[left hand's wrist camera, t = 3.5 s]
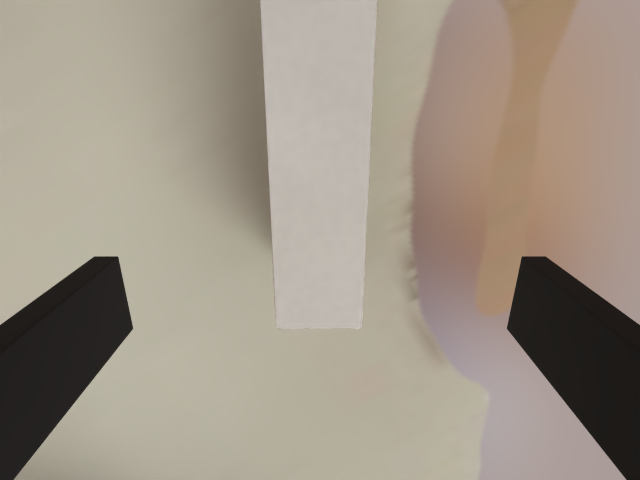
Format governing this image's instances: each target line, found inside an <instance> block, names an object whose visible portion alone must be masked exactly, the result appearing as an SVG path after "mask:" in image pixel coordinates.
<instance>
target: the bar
mask: <svg viewBox="0 0 640 480" xmlns="http://www.w3.org/2000/svg"><path fill="white" fill-rule="evenodd" d="M260 12H261V33H262V53H263V73H264V94H265V114H266V135H267V155H268V176H269V196H270V216H271V237H272V257H273V278H274V298H275V318H276V328H362V317H363V295H364V274H365V252H366V231H367V210H368V188H369V167H370V146H371V124H372V103H373V82H374V60H375V39H376V17H377V0H260Z"/></svg>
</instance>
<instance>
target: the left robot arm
mask: <svg viewBox="0 0 640 480" xmlns="http://www.w3.org/2000/svg"><path fill="white" fill-rule="evenodd" d="M132 329H133V326H132V321H131V316H130V311H129V307H128V302H127V297H126V292H125V288H124V283H123V278H122V273H121V268H120V264H119V259H118V257H93V258H92V259H90V260H89V261H88V262H86V263H85V264H84V265H82V266H81V267H79V268H78V269H77V270H75V271H74V272H73V273H71V274H70V275H68V276H67V277H66V278H64V279H63V280H62V281H60V282H59V283H57V284H56V285H55V286H53V287H52V288H51V289H49V290H48V291H46V292H45V293H44V294H42V295H41V296H40V297H38V298H37V299H35V300H34V301H33V302H31V303H30V304H29V305H27V306H26V307H24V308H23V309H22V310H20V311H19V312H18V313H16V314H15V315H13V316H12V317H11V318H9V319H8V320H7V321H5V322H4V323H3V324H1V325H0V480H14V478H15V477H16V476H17V475H18V473H19V472H20V471H21V470H22V468H23V467H24V466H25V464H26V463H27V462H28V461H29V459H30V458H31V457H32V456H33V454H34V453H35V452H36V451H37V449H38V448H39V447H40V446H41V444H42V443H43V442H44V440H45V439H46V438H47V437H48V435H49V434H50V433H51V432H52V430H53V429H54V428H55V427H56V425H57V424H58V423H59V422H60V420H61V419H62V418H63V416H64V415H65V414H66V413H67V411H68V410H69V409H70V408H71V406H72V405H73V404H74V403H75V401H76V400H77V399H78V398H79V396H80V395H81V394H82V392H83V391H84V390H85V389H86V387H87V386H88V385H89V384H90V382H91V381H92V380H93V379H94V377H95V376H96V375H97V374H98V372H99V371H100V370H101V368H102V367H103V366H104V365H105V363H106V362H107V361H108V360H109V358H110V357H111V356H112V355H113V353H114V352H115V351H116V350H117V348H118V347H119V346H120V344H121V343H122V342H123V341H124V339H125V338H126V337H127V336H128V334H129V333H130V332H131V331H132ZM507 329H508V331H509V332H510V333H511V334H512V336H513V337H514V338H515V339H516V341H517V342H518V343H519V344H520V346H521V347H522V348H523V350H524V351H525V352H526V353H527V355H528V356H529V357H530V358H531V360H532V361H533V362H534V363H535V365H536V366H537V367H538V368H539V370H540V371H541V372H542V373H543V375H544V376H545V377H546V379H547V380H548V381H549V382H550V384H551V385H552V386H553V387H554V389H555V390H556V391H557V392H558V394H559V395H560V396H561V397H562V399H563V400H564V401H565V402H566V404H567V405H568V406H569V408H570V409H571V410H572V411H573V413H574V414H575V415H576V416H577V418H578V419H579V420H580V422H581V423H582V424H583V425H584V427H585V428H586V429H587V430H588V432H589V433H590V434H591V435H592V437H593V438H594V439H595V440H596V442H597V443H598V444H599V445H600V447H601V448H602V449H603V451H604V452H605V453H606V454H607V456H608V457H609V458H610V459H611V461H612V462H613V463H614V464H615V466H616V467H617V468H618V470H619V471H620V472H621V473H622V475H623V476H624V477H625V478H626V480H640V325H639V324H637V323H636V322H635V321H633V320H632V319H631V318H629V317H628V316H626V315H625V314H624V313H622V312H621V311H620V310H618V309H617V308H616V307H614V306H613V305H611V304H610V303H609V302H607V301H606V300H604V299H603V298H602V297H600V296H599V295H598V294H596V293H595V292H594V291H592V290H591V289H589V288H588V287H587V286H585V285H584V284H583V283H581V282H580V281H578V280H577V279H576V278H574V277H573V276H572V275H570V274H569V273H567V272H566V271H565V270H563V269H562V268H561V267H559V266H558V265H556V264H555V263H554V262H552V261H551V260H550V259H548V258H547V257H522V259H521V264H520V268H519V273H518V278H517V283H516V288H515V292H514V297H513V302H512V307H511V312H510V316H509V321H508V326H507Z"/></svg>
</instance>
